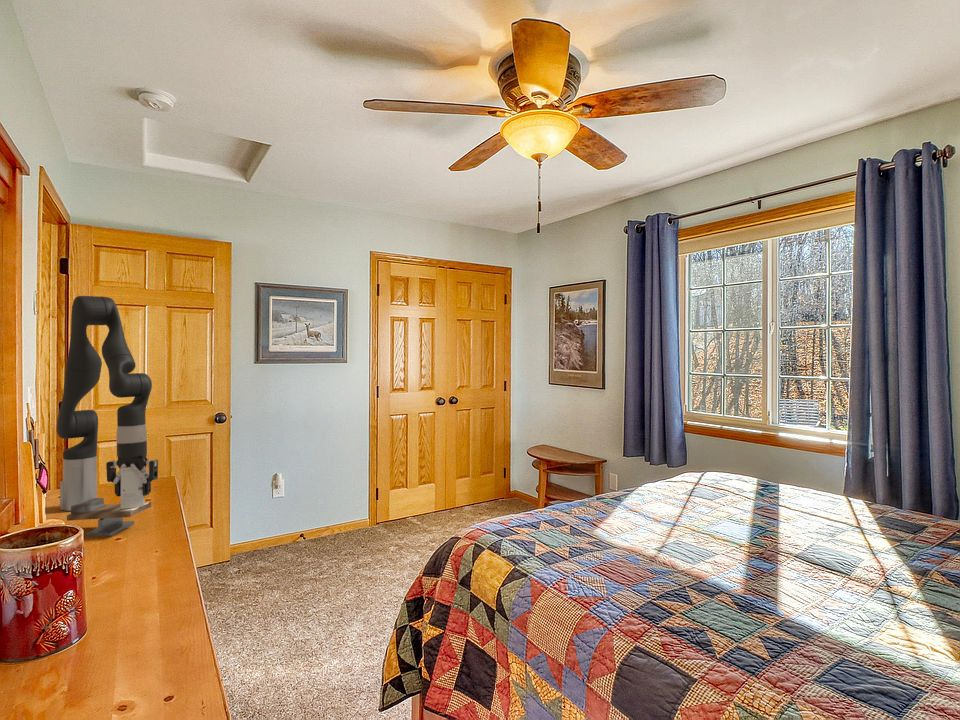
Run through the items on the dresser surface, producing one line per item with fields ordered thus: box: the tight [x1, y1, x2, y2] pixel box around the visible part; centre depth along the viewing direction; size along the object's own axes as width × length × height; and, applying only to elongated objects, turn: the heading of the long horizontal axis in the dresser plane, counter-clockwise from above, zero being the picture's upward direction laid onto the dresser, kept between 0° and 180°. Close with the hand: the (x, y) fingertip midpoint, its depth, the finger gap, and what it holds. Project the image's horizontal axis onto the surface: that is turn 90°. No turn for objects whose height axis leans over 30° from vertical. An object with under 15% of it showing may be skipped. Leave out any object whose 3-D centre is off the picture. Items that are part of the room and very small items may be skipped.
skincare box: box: [120, 466, 146, 509], centre depth 156 cm, size 6×4×12 cm
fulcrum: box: [84, 517, 135, 538], centre depth 156 cm, size 7×11×4 cm, turn 2°
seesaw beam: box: [66, 497, 152, 521], centre depth 156 cm, size 18×10×4 cm, turn 92°
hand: (132, 495), depth 156 cm, fingers closed on skincare box, 7 cm apart
